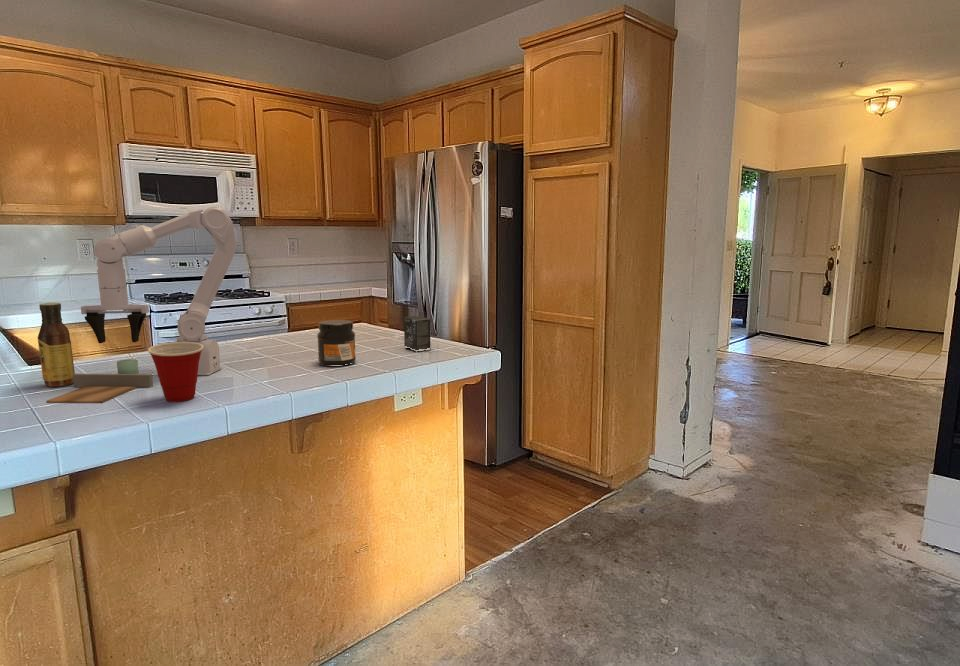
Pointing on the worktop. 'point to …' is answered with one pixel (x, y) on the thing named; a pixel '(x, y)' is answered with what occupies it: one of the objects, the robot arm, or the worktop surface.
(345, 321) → the supplement container
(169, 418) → the worktop surface
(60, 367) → the sauce bottle
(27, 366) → the worktop surface
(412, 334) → the box
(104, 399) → the walnut board
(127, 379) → the taupe wall
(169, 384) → the plastic cup
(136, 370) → the sage green cylinder
